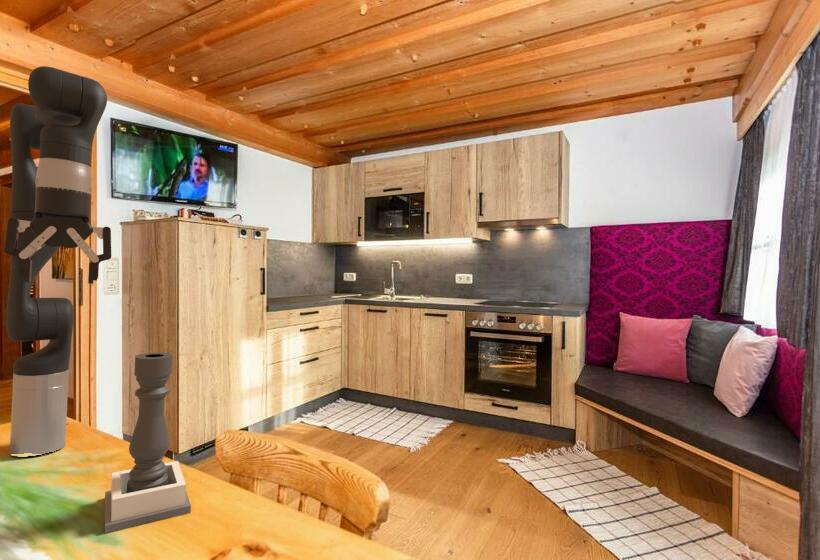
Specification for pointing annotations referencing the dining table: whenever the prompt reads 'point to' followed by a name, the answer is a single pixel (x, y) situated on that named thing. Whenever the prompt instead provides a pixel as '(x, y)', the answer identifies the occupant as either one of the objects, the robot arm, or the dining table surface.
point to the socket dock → (145, 500)
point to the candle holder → (150, 422)
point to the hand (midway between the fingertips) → (59, 282)
